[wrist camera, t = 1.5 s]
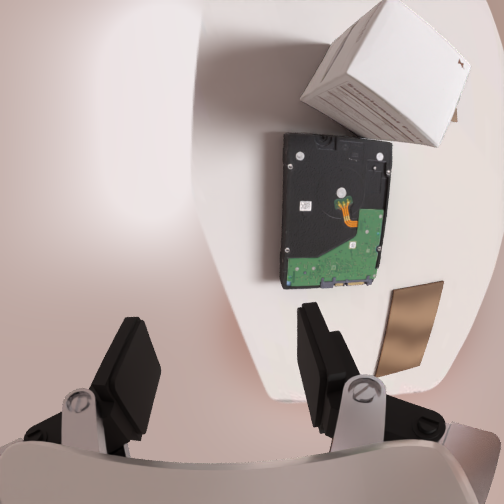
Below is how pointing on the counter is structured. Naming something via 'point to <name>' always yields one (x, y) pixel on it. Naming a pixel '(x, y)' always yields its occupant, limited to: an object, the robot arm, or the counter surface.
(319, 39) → the counter surface
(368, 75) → the supplement box
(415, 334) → the flat brown wooden pieces
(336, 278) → the disk drive
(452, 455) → the robot arm
